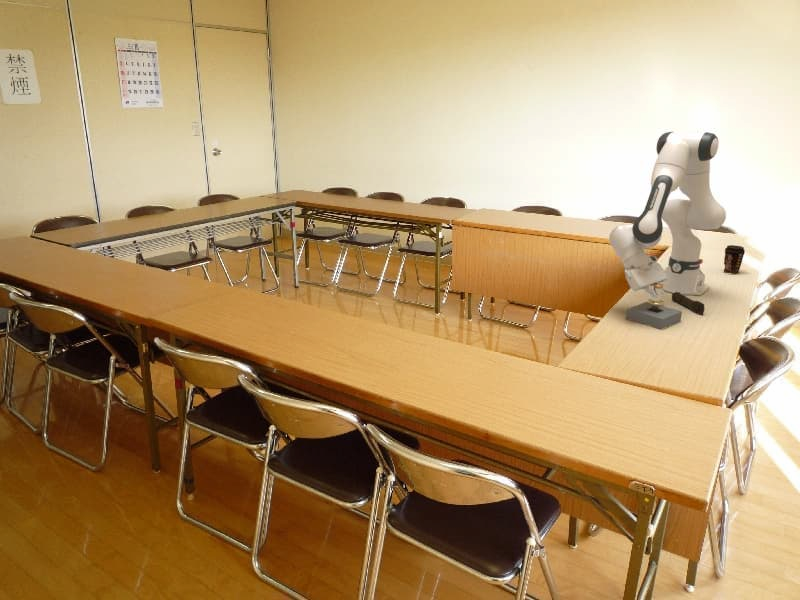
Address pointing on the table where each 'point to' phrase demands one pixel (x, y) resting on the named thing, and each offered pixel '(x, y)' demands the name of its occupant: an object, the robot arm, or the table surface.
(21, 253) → the table surface
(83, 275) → the table surface
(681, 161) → the robot arm
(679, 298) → the hand tool
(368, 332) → the table surface
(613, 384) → the table surface
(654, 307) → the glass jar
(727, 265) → the coffee cup
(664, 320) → the block
